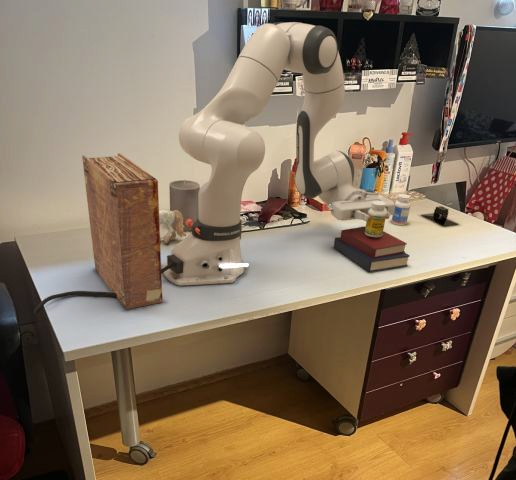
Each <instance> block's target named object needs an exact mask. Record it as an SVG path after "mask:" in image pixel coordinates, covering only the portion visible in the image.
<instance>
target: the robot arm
mask: <svg viewBox="0 0 516 480" xmlns="http://www.w3.org/2000/svg"><path fill="white" fill-rule="evenodd" d="M284 70H285V71H288V72H291V73H295V74H302V82H303V89H304V98H303V105H302V108H301V109H300V112H299V114H298V115H297V118H296V131H295V132H296V133H295V136H296V138H295V139H296V140H295V142H296V143H295V144H296V145H295V147H296V148H295V150H296V151H295V152H296V153H295V155H296V156H295V159H296V160H295V163H296V164H295V172H294V185H295V188H296V191H297V192H298V193H299V194H300V195H301V196H303V197H305V198H307V199H315V198H317V197H318V198H319V199H320V200H321V201H322V202H323V203H324V204H325V205H326V206H325V208H326V210H328V211H330V214H331V215H332V217H334V218H335V219H336V220H338V221H343V222H345V221H351V220H352V221H353V220H361V221H364V222H366V221H370V220H371V219H370V218H371V215H369V214H368V210H369V209H370V208H372V207H371V204H372V202H373V201H382V202H385V203H386V206H385V209H384V210H385V211H386V219H385V220H389V219H390V218H391V217H390V216H393V214H394V211H395V202H394V200H392V199H390V198H388V197H387V196H384V195H382V194H379V191H376V190H370V189H369V190H368V189H362V188H360V189H359V188H355V187H353V186H352V184H353V180H354V165H353V162H352V160H351V159H350V158H349V155H347V154H346V153H344V151H341V150H335V151H333V152H331V153H328V154H325V155H323V156H322V157H320V158H318V159H316V160H315V141H316V138H317V136H318V134H319V133H320V132H321V130H322V129H323V128H324V127H325V126H326V125H327V124H328V123H329V122H330V121H331V120H332V119H334V118H335V117H336V116H337V114H338V113H339V112H340V111H341V109H342V108H343V105H344V104H345V103H344V102H345V98H346V87H345V77H344V69H343V64H342V60H341V56H340V53H339V43H338V41H337V37H336V35H335V32H333V31H332V30H331V29H330V28H328V27H326V26H323V25H314V24H309V23H303V22H297V21H292V22H291V21H289V22H284V21H277V22H273V23H263V24H261V25H259V26H258V27H257V28H256V29H255V31H254V32H253V33H252V34H251V36H250V37H249V39H248V40H247V41H246V44H245V45H243V48H242V49H241V52H240V53H239V55H238V57H237V59H236V60H235V62H234V65H233V67H232V69H231V71H230V73H229V74H228V76H227V78H226V80H225V82H224V84H223V85H222V87H221V88H220V90H219V91H218V93H216V95H215V96H214V97H213V98H212V99H211V100H210V101H209V102H208V103H207V104H206V105H205V106H204V107H203V108H201V110H199V111H198V112H197V113H196V114H193V115H191V116H189V117H187V118H186V119H185V120H184V121H183V122H182V124H181V125H180V128H179V131H178V142H179V145H180V148H181V149H182V151H184V153H185V154H187V155H188V156H190V157H191V158H193V159H194V160H196V161H198V162H201V163H203V164H207V165H209V166H211V171H210V176H209V179H208V181H207V182H205V183H203V184H202V185H201V186H200V190H199V193H198V213H199V218H198V219H197V220H196V221H195V222H193V221H192V220H191V219H187V221H186V225H187V226H188V227H189V228H192V230H191V233H190V234H188V235H186V236H185V238H184V239H182V240H181V241H179V243H177V244H175V246H173V248H172V250H171V253H170V254H169V255H166V262H165V261H164V263H163V264H162V267H161V275H162V274H163V276H164V277H165V278H166V279H167V280H168V281H169V282H171V283H172V284H174V285H177V286H179V287H180V286H181V287H183V286H199V285H201V286H202V285H215V284H217V285H219V284H232V283H234V282H235V281H236V280H237V278H238V277H239V276H240V277H241V275H242V274H243V273H244V272H245V268H247V267H249V263H248V262H246V263H245V262H244V263H243V259H242V251H241V240H242V232H243V228H242V224H243V223H242V219H241V212H242V199H243V198H242V197H243V191H244V188H245V185H246V183H247V181H248V178H249V177H250V176H251V175H252V174H253V173H254V172H256V171H257V170H258V169H259V168H260V167H261V165H262V163H263V161H264V159H265V154H266V145H265V140H264V138H263V136H262V135H261V134H260V133H258V132H257V131H255V130H253V128H250V127H249V126H247V125H245V124H246V123H247V122H248V121H249V120H251V119H254V118H256V117H258V116H259V115H261V114H262V113H263V112H264V110H265V108H266V106H267V105H268V103H269V100H270V98H271V96H272V95H273V93H274V91H275V88H276V87H277V85H278V83H279V81H280V78H281V76H282V74H283V71H284ZM70 296H71V297H72V296H99V297H100V296H101V297H102V296H103V297H112V298H117V294H116V293H113V292H112V291H110V292H109V291H93V290H92V291H91V290H71V291H65V292H61V293H56V294H52V295H49V296H47V297H45V298H44V299H43V300H42V301H40V302H39V304H37V306H36V307H35V309H34V310H33V311H32V314H39V312H40V310H41V309H42V308H43V307H44V306H45V305H46V304H47V303H48V302H50V301H52V300H56V299H60V298H66V297H70Z"/></svg>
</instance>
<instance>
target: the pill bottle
mask: <svg viewBox="0 0 516 480" xmlns="http://www.w3.org/2000/svg"><path fill="white" fill-rule="evenodd" d="M410 200H411V196H410V195H408V194H403V193H401V194H399V195H398V196H397V200H395V202H394V203H395V211H394V214H393V215H391V223H392V224H393V225H396V226H397V225H398V226H405V225H407V223H408V218H409V215H410V210H411V202H410Z"/></svg>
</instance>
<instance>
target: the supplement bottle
mask: <svg viewBox="0 0 516 480" xmlns="http://www.w3.org/2000/svg"><path fill="white" fill-rule="evenodd" d="M385 206H386V203H385V202H382V201H373V202H372V204H371V207H372V208H370V209H369V210H368V214H369V215H371V218H370V219H371V220H370V221H365V226H366V227H365V234H366V235H367V236H370V237H381V236H382V235H383V231H385V230H384V229H385V225H386V220H387V219H386V211H385V210H384V209H385Z"/></svg>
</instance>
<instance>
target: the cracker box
mask: <svg viewBox="0 0 516 480" xmlns="http://www.w3.org/2000/svg"><path fill="white" fill-rule="evenodd" d="M366 149H367V146H366V145H362V144H351V145H350V149H349V152H348V153H349V154H348V157H349V158H350V159H351V160H352V162H353V165H354V180H353V184H352V186H353V187H355V188H359V189H361V183H362V177H363V173H364V172H363V171H364V166H365V159H366V152H367V150H366Z"/></svg>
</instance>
